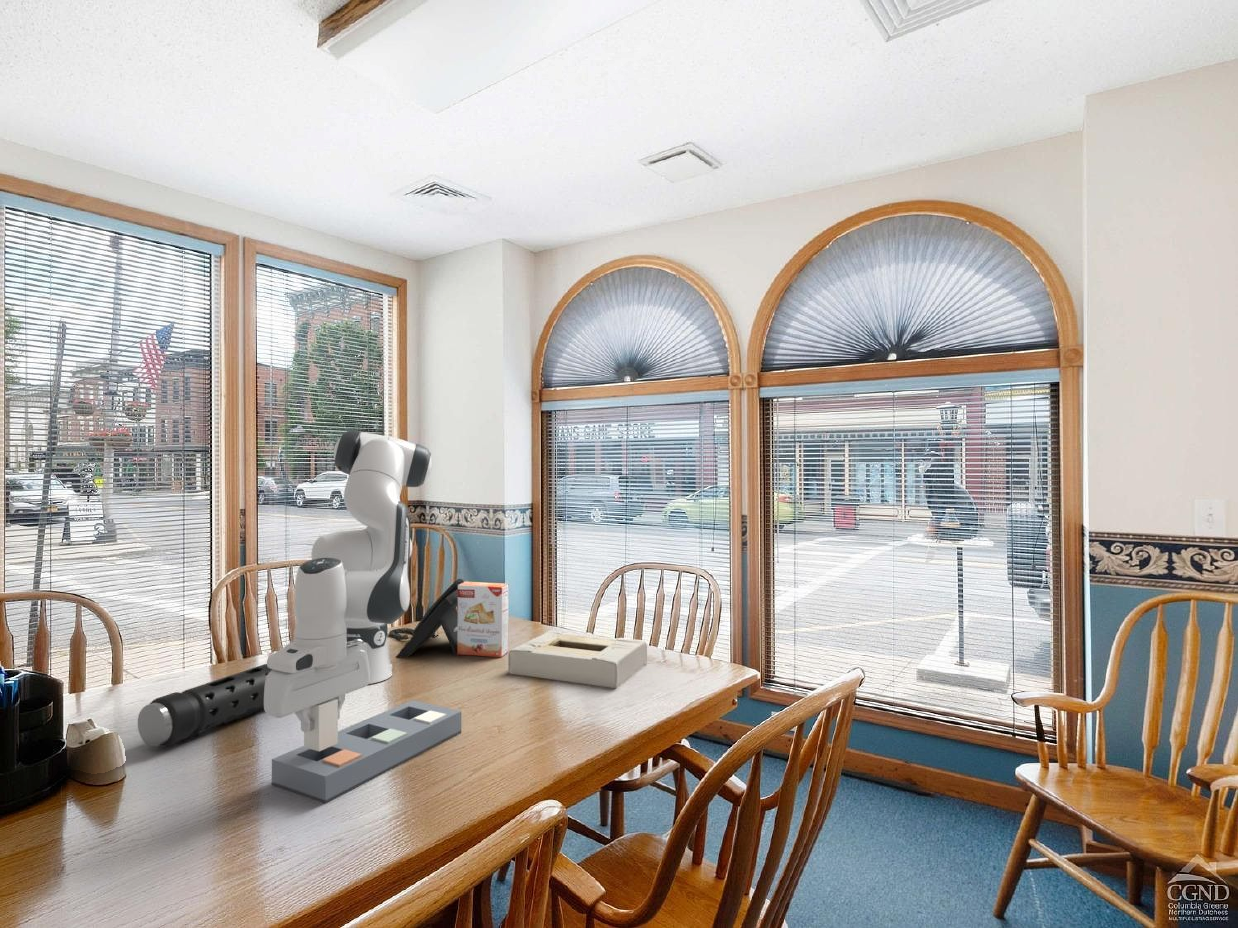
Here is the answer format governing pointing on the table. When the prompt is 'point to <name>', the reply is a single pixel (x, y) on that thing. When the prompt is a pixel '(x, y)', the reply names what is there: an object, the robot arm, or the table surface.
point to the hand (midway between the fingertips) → (320, 725)
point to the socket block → (365, 750)
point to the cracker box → (482, 619)
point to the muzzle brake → (202, 707)
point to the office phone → (434, 623)
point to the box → (579, 658)
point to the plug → (323, 726)
